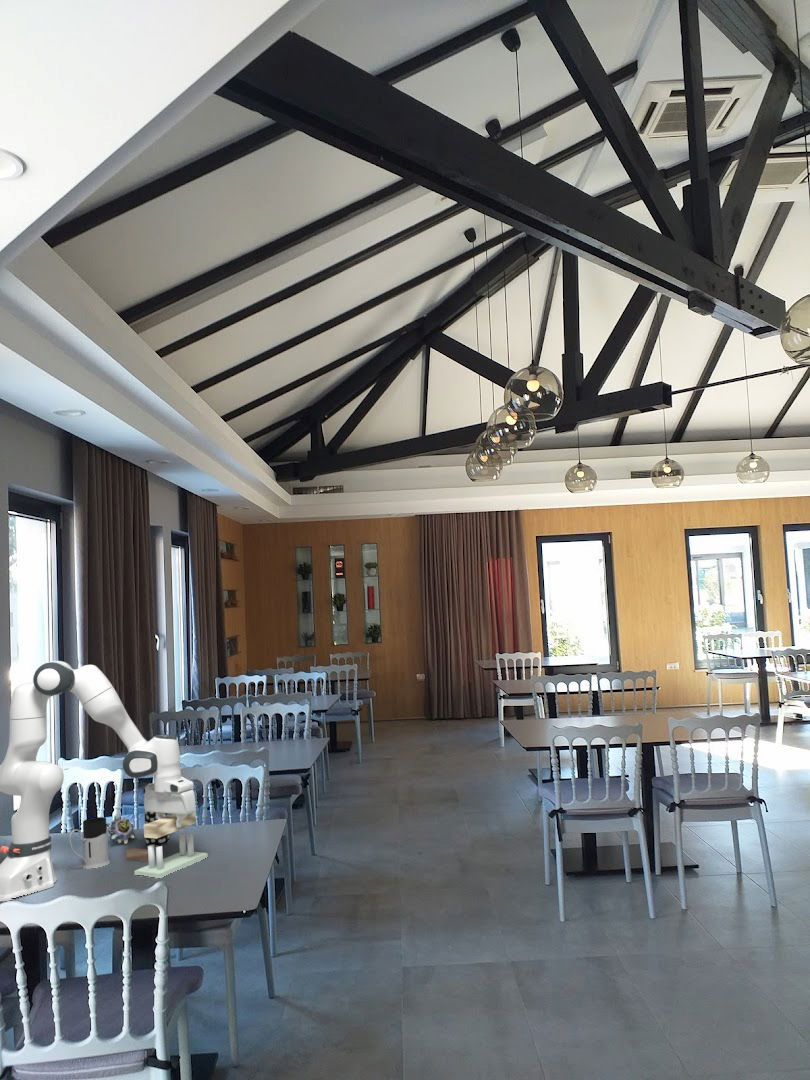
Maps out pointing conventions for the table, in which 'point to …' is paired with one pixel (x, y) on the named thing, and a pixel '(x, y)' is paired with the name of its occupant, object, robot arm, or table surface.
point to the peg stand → (171, 859)
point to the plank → (167, 825)
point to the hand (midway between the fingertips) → (170, 826)
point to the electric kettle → (94, 843)
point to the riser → (137, 854)
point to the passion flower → (121, 830)
